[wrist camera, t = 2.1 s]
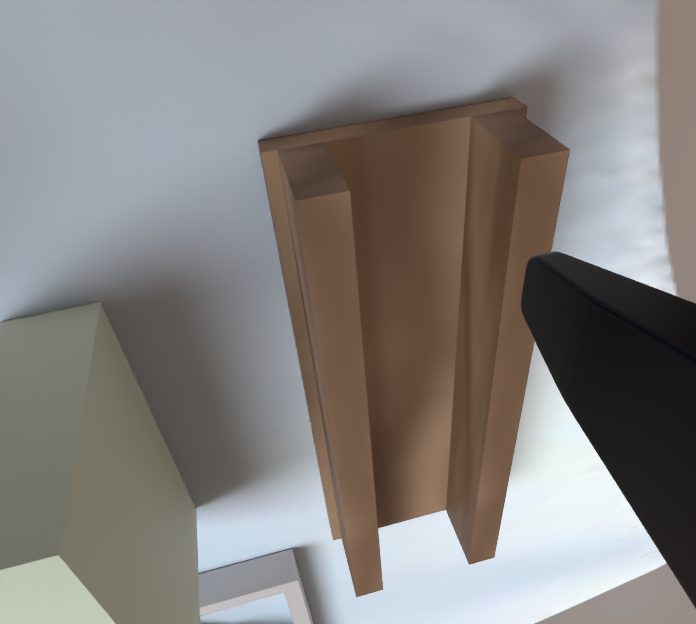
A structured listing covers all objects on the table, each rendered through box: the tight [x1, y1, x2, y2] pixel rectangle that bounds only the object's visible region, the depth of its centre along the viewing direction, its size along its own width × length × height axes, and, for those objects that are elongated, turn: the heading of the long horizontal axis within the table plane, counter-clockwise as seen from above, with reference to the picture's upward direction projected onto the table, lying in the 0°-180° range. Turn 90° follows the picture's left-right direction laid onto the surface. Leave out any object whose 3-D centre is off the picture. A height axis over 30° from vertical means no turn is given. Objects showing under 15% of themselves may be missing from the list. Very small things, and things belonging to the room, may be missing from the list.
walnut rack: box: [258, 98, 570, 597], centre depth 25 cm, size 9×24×4 cm, turn 5°
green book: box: [0, 302, 200, 624], centre depth 21 cm, size 4×14×10 cm, turn 5°
